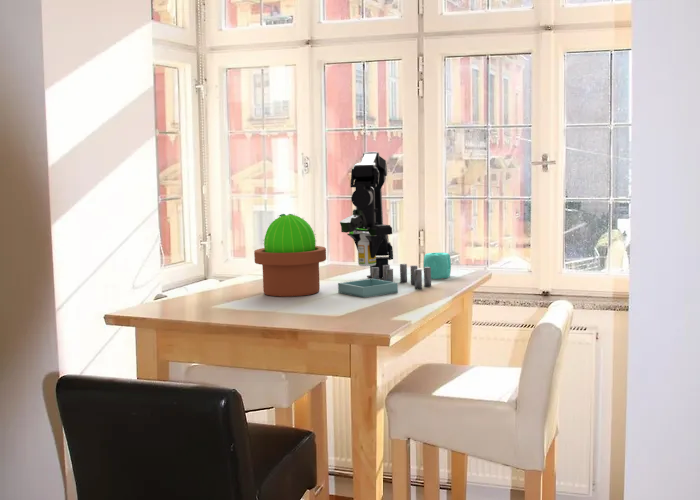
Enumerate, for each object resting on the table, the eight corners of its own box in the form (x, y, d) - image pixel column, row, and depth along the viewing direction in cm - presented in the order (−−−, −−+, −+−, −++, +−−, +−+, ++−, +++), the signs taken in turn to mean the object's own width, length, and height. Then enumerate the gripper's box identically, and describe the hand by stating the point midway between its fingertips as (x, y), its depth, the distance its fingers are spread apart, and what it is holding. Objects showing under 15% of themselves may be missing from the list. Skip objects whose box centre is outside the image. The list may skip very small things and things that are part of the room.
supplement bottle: (376, 263, 273) (375, 232, 272) (375, 266, 268) (374, 234, 267) (359, 264, 274) (358, 232, 273) (357, 266, 269) (356, 234, 268)
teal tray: (338, 292, 273) (338, 283, 273) (372, 288, 281) (371, 278, 281) (363, 297, 263) (363, 287, 263) (397, 292, 270) (397, 282, 270)
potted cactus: (317, 298, 264) (314, 214, 261) (247, 298, 268) (243, 215, 265) (333, 287, 285) (331, 209, 282) (268, 287, 289) (265, 210, 287)
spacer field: (367, 285, 286) (366, 267, 285) (400, 281, 294) (400, 263, 293) (402, 291, 271) (402, 272, 271) (436, 286, 279) (436, 267, 279)
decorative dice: (451, 275, 303) (450, 252, 302) (447, 279, 296) (446, 255, 295) (428, 275, 306) (427, 252, 305) (423, 278, 298) (423, 255, 297)
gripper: (326, 206, 272) (327, 257, 274) (362, 208, 257) (364, 262, 259) (355, 204, 278) (357, 253, 280) (392, 206, 263) (394, 258, 265)
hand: (367, 257), depth 271 cm, fingers closed on supplement bottle, 5 cm apart
